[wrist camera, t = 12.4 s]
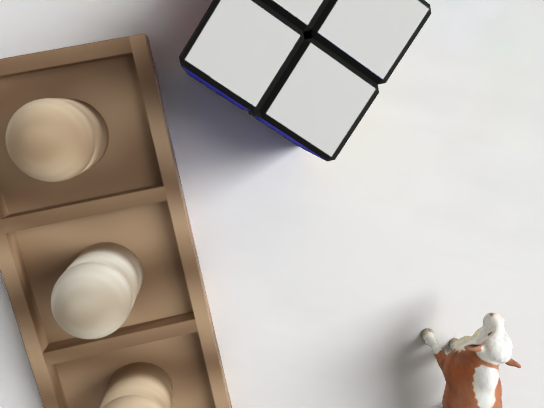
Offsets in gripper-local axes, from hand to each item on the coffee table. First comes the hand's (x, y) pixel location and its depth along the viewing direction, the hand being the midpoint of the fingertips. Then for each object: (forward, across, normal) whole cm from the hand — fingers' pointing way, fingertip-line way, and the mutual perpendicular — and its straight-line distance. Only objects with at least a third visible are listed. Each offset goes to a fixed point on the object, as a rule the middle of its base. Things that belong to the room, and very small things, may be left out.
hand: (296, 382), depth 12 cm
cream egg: (+26, -10, -4) cm, 28 cm away
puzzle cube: (+27, +5, +9) cm, 29 cm away
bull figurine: (+27, +14, -18) cm, 35 cm away
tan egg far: (+26, -10, -14) cm, 31 cm away
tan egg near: (+26, -10, +6) cm, 29 cm away
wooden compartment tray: (+27, -10, -4) cm, 29 cm away
